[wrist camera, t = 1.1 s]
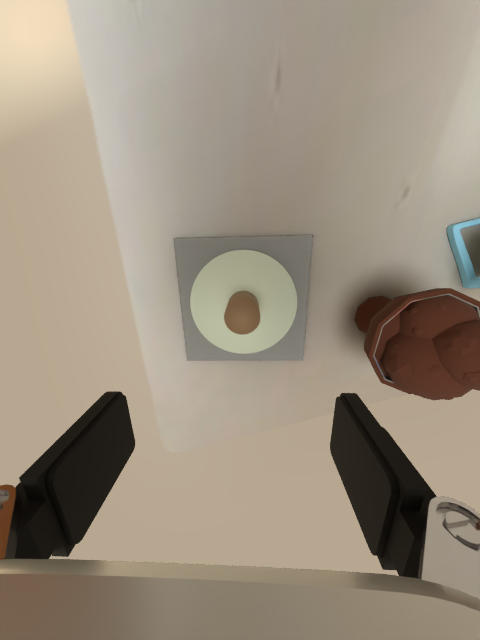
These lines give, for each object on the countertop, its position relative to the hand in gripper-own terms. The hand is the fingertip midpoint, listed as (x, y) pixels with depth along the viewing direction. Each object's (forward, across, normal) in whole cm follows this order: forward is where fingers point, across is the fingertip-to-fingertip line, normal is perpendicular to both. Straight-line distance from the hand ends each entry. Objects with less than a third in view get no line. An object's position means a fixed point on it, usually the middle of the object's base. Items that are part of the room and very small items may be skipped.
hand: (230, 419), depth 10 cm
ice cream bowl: (+22, -18, +2) cm, 29 cm away
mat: (+22, 0, 0) cm, 22 cm away
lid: (+21, 0, 0) cm, 21 cm away
